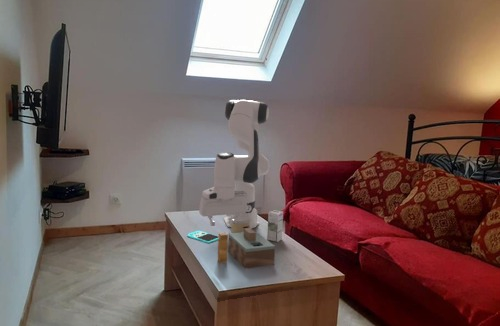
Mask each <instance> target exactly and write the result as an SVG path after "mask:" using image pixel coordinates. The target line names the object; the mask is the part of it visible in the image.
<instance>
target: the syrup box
mask: <svg viewBox="0 0 500 326" xmlns="http://www.w3.org/2000/svg"><path fill="white" fill-rule="evenodd" d="M267 216H268V217H267V234H266V235H267V236H266V239H267V240H268V241H269V242H274V243H278V242H280V241H281V240H282V239H283V226H284V225H283V224H284V223H283V222H284V211H280V210H274V209H273V210H269V211H268V214H267Z"/></svg>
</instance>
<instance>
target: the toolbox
mask: <svg viewBox="0 0 500 326" xmlns="http://www.w3.org/2000/svg"><path fill="white" fill-rule="evenodd" d="M253 246H254V247H255V246H260V245H253ZM275 250H276V248H275V249H268V250H259V251H251V252H246V251H244V250H243V249H242V248H241V247H240V246H239V245H238V244H237V243H236V242H235V241H233V240H232V239H231V238H230V237H229V236H228V244H227V252H229V254H230V255H231V256H232V257H233V258H234V259H236V260H237V262H238V263H239V264H240V265H241V266H242V267H243V268H244V269H254V268H259V267H260V268H261V267H267V266H273V265H275V252H276V251H275Z"/></svg>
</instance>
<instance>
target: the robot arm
mask: <svg viewBox="0 0 500 326" xmlns="http://www.w3.org/2000/svg"><path fill="white" fill-rule="evenodd" d="M224 115H225V118H226V120H228V125H227V128H228V132H229V134H230V135H231V136H232V137H233V138H234V139H235V140H236V145H237V147H238V148H239V149H240V150H242V151H244V152H246V154H247V155H244V154H242V155H239V154H238V155H237V154H234V153H233V152H229V151H228V152H227V151H222V152H219V153H217V154H216V156H215V160H214V167H213V169H214V171H213V176H214V182H213V186H212V187H210V188H207V189H205V190H202V193H201V196H202V197H201V198H200V201H199V207H198V208H199V209H198V210H199V211H198V212H199V215H200V216H202V217H207V219H208V221H209V223H210V224H209V225H210V227H214V226H215V225H216V221H215V220H213V218H214V217H213V216H225V217H223V222H224V223H225V224H226V226H227V228H231V222H232V224H236V220H237V218H238V217H239V216H246V217H249V218H250V226H249V228H251V229H254V228H256V227H257V226H258V225H260V221H258V209H256V200H255V199H256V198H255V197H256V196H255V195H256V188H255V185H254V183H255V182H256V181H258V180H259V179H260V176H265V175H267V174H268V172H269V171H270V167H271V164H270V161H269V159H268V158H267V157H266V156H265V155H264V154H263V153H262V152H261V150H260V147H259V144H260V143H259V131H260V128H259V127H260V126H259V125H261V124H265V123H266V122H267V120H268V119H269V116H270V109H269V105H268V104H267V103H266V102H264V101H263V102H262V101H257V100H256V101H254V100H246V99H240V100H239V99H237V100H236V99H231V100H230V99H229V100H228V101H227V103H226V105H225V106H224ZM232 217H234V218H233V219H232ZM231 219H232V221H231Z"/></svg>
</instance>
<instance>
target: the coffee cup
mask: <svg viewBox="0 0 500 326" xmlns="http://www.w3.org/2000/svg"><path fill="white" fill-rule="evenodd" d="M233 218H234V217H232V219H233ZM232 219H231V221H232ZM249 226H250V218H249V217H246V216H239V217H238V218H237V220H236V224H232V222H231V227H230V228H231V229H230V230H231V231H230V232H231V233H241V232H244V228H249Z"/></svg>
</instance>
